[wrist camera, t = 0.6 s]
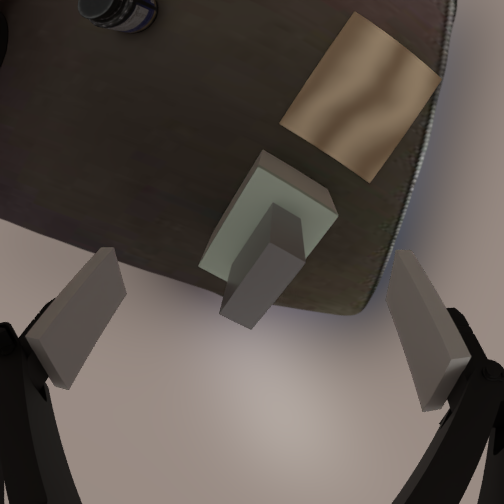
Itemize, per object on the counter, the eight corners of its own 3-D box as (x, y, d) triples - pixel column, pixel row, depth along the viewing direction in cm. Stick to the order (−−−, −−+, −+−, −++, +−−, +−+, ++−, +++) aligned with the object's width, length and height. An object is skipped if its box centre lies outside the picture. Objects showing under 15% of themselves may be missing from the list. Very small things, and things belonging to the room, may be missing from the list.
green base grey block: (201, 257, 40) (178, 315, 31) (259, 162, 34) (250, 196, 24) (270, 294, 42) (266, 356, 33) (335, 209, 36) (354, 258, 26)
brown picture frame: (279, 123, 38) (279, 123, 38) (353, 12, 30) (354, 11, 29) (368, 181, 41) (369, 183, 40) (439, 79, 32) (441, 79, 32)
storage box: (212, 233, 46) (199, 262, 39) (262, 149, 40) (258, 164, 33) (272, 265, 48) (270, 298, 41) (327, 189, 42) (337, 212, 35)
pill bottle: (117, -1, 30) (73, -17, 21) (159, -11, 30) (122, -34, 20) (117, 38, 33) (71, 31, 24) (159, 29, 33) (121, 16, 23)
